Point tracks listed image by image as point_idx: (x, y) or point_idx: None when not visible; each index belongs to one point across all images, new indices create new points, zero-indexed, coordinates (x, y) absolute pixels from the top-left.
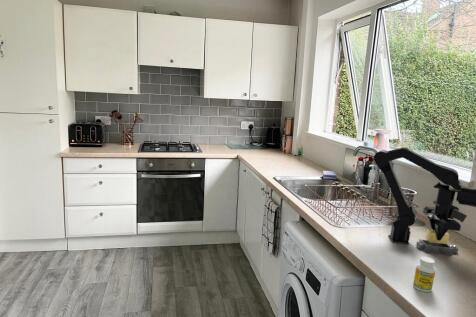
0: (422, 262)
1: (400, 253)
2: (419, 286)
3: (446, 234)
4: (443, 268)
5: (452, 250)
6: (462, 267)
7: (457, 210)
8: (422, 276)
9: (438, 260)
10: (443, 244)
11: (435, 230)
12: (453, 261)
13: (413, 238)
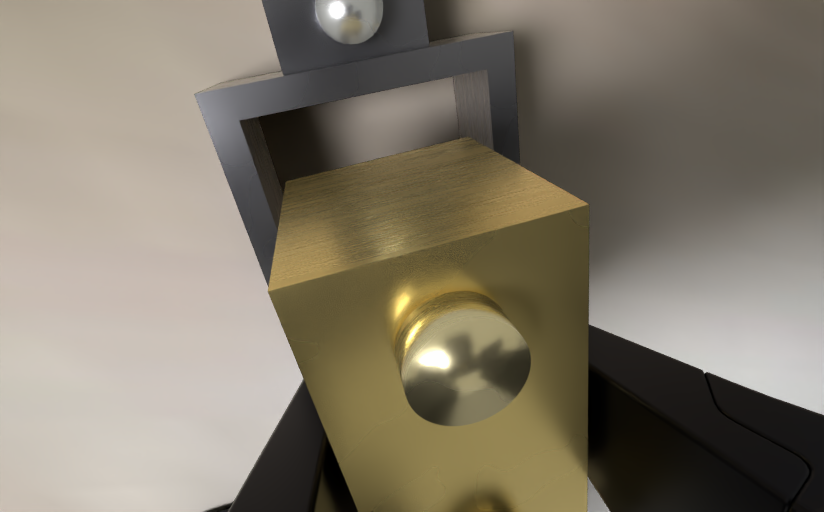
0: None
1: (598, 494)
2: None
3: (581, 286)
4: (820, 235)
5: (499, 32)
6: (815, 13)
7: None
8: None
9: (674, 249)
10: (246, 122)
11: (396, 509)
12: (677, 80)
13: (115, 438)
